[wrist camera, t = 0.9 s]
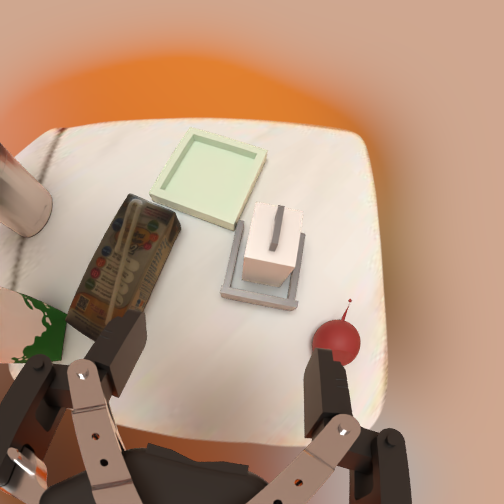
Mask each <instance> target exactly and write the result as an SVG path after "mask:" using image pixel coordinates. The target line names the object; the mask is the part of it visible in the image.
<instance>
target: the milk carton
mask: <svg viewBox="0 0 504 504" xmlns="http://www.w3.org/2000/svg"><path fill="white" fill-rule="evenodd" d="M66 317H67V314H66V313H64V312H62V311H60V310H58V309H56V308H54V307H52V306H50V305H48V304H46V303H44V302H42V301H39V300H37V299H34V298H32V297H30V296H27V295H24V294H21V293H18V292H15V291H12V290H9V289H6V288H3V287H0V363H26V362H27V361H28V359H29V358H30V357H32V356H34V355H37V354H43V355H46V356H48V357H49V358H50V359H51V361H59V360H61V356H62V348H63V341H64V335H65V328H66V321H65V319H66Z"/></svg>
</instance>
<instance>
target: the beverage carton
mask: <svg viewBox="0 0 504 504" xmlns="http://www.w3.org/2000/svg"><path fill="white" fill-rule="evenodd" d="M180 226H181V225H180V223H179V220H178V219H177V216H176V213H175V212H173V211H171V210H169V209H167V208H164V207H162V206H159V205H156V204H154V203H152V202H149V201H147V200H145V199H143V198H141V197H138V196H136V195H133V194H128V196H127V198H126V199H125V201H124V202H123V204H122V206H121V207H120V209H119V210H118V212H117V214H116V216H115V217H114V219H113V221H112V222H111V224H110V226H109V228H108V230H107V231H106V233H105V235H104V237H103V239H102V240H101V243H100V245H99V246H98V248H97V250H96V252H95V254H94V256H93V258H92V260H91V262H90V264H89V266H88V268H87V270H86V272H85V274H84V276H83V278H82V281H81V283H80V285H79V287H78V290H77V292H76V294H75V296H74V299H73V301H72V304H71V306H70V308H69V311H68V314H67V317H66V319H65V321H66V322H67V323H68V324H70V325H71V326H72V327H74V328H75V329H77V330H78V331H79V332H81V333H82V334H84V335H85V336H87V337H88V338H90V339H92V340H93V341H96V340H97V338H98V337H99V336H100V334H101V332H102V331H104V328H105V327H106V325H107V324H108V322H109V321H111V320H112V319H114V318H115V317H117V316H119V317H123V316H124V314H125V313H126V312H127V310H128V309H133V310H137V311H141V312H143V309H144V307H145V305H146V303H147V300H148V298H149V296H150V294H151V291H152V289H153V287H154V285H155V283H156V280H157V278H158V276H159V274H160V272H161V270H162V268H163V266H164V263H165V261H166V259H167V257H168V255H169V253H170V251H171V248H172V246H173V244H174V241H175V240H176V238H177V235H178V233H179V232H180V230H181V227H180Z"/></svg>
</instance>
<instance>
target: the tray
mask: <svg viewBox="0 0 504 504" xmlns="http://www.w3.org/2000/svg"><path fill="white" fill-rule="evenodd" d="M267 151H268V150H265V149H262V148H259V147H256V146H253V145H250V144H246V143H243V142H240V141H237V140H234V139H231V138H227V137H224V136H221V135H217V134H214V133H210V132H207V131H203V130H200V129H196V128H192V127H190V128H189V129H188V131H187V132H186V134H185V135H184V137H183V138H182V140H181V141H180V143H179V144H178V146H177V148H176V149H175V151H174V152H173V154H172V155H171V157H170V159H169V160H168V162H167V163H166V165H165V167H164V168H163V170H162V172H161V173H160V175H159V177H158V178H157V180H156V182H155V183H154V185H153V187H152V189H151V190H150V192H149V194H150V196H151V198H152V200H153V201H154V202H157V203H160V204H162V205H165V206H168V207H170V208H173V209H176V210H178V211H181V212H184V213H186V214H189V215H192V216H194V217H197V218H200V219H202V220H205V221H208V222H210V223H213V224H216V225H218V226H221V227H224V228H226V229H229V230H231V231H234V230H235V228H236V225H237V223H238V220H239V219H240V216H241V214H242V212H243V210H244V207H245V205H246V203H247V201H248V198H249V196H250V194H251V192H252V190H253V187H254V185H255V183H256V181H257V179H258V176H259V174H260V172H261V170H262V168H263V165H264V163H265V161H266V157H267Z"/></svg>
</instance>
